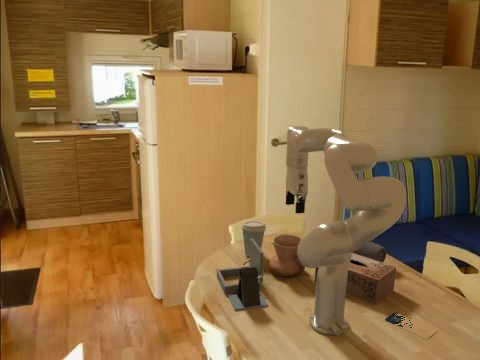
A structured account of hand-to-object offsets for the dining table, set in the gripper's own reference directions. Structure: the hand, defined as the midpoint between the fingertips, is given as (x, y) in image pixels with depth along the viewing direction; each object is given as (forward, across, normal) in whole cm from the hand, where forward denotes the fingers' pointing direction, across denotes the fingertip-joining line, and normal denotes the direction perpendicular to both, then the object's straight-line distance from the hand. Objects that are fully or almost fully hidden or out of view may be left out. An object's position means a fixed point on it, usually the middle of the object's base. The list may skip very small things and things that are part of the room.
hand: (294, 208), depth 162 cm
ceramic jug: (+33, +14, -4) cm, 36 cm away
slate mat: (+32, -4, +18) cm, 37 cm away
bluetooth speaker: (+33, +19, -37) cm, 53 cm away
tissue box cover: (+33, -2, -25) cm, 41 cm away
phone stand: (+32, -4, +18) cm, 37 cm away
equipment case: (+32, +10, +18) cm, 38 cm away
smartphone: (+33, -31, -30) cm, 54 cm away
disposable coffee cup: (+32, +34, +5) cm, 47 cm away
